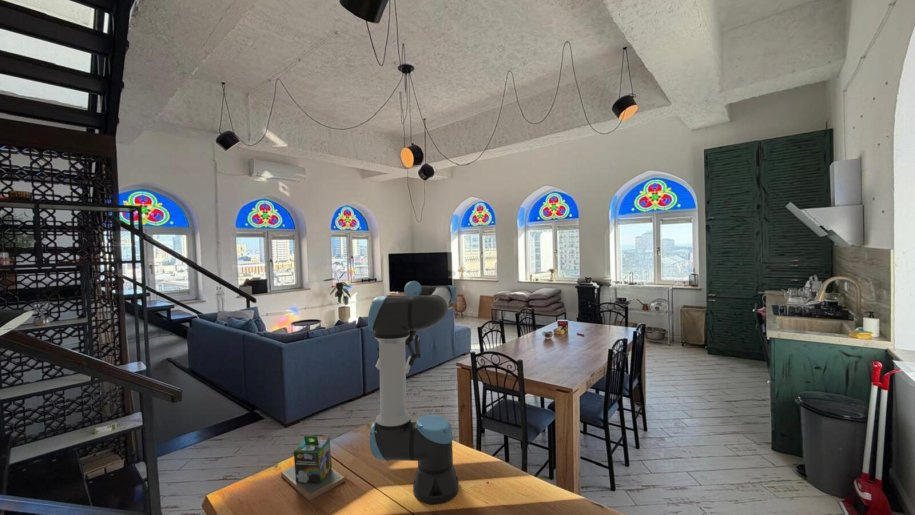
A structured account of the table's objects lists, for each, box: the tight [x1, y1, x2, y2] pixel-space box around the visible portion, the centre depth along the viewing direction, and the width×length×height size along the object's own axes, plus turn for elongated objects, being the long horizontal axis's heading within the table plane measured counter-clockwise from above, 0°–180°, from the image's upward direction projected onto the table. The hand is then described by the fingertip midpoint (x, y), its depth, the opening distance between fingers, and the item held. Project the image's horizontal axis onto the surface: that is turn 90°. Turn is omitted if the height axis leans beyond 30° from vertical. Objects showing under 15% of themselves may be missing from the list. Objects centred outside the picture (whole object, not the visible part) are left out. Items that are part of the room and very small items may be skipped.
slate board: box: [280, 465, 346, 502], centre depth 136 cm, size 20×13×2 cm, turn 48°
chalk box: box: [293, 435, 333, 484], centre depth 134 cm, size 9×9×15 cm
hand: (391, 370), depth 157 cm, fingers open, 13 cm apart
